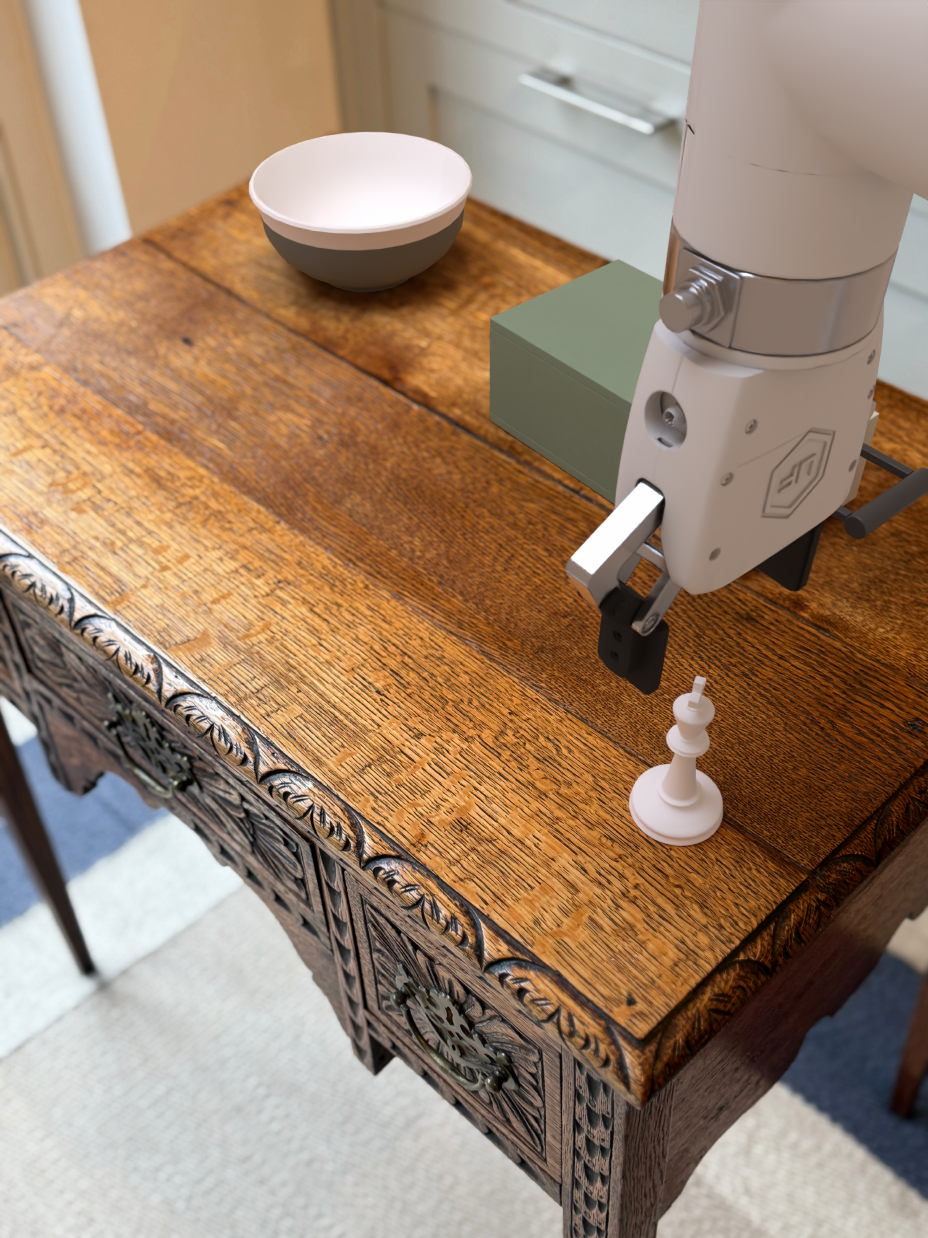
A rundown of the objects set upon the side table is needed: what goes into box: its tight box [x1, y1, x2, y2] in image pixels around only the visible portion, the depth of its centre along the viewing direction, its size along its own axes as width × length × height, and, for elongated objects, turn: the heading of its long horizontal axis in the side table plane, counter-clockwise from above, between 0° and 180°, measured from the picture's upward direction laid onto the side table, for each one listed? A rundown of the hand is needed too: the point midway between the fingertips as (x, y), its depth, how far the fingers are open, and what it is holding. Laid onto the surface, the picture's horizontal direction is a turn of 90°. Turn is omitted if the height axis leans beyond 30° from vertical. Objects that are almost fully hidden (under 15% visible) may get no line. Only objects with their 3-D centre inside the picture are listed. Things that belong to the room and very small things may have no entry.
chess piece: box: [628, 675, 724, 847], centre depth 59 cm, size 5×5×10 cm
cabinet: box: [489, 259, 663, 506], centre depth 83 cm, size 15×13×9 cm
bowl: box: [248, 131, 474, 293], centre depth 101 cm, size 19×19×8 cm
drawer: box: [830, 410, 928, 540], centre depth 76 cm, size 19×11×7 cm, turn 40°
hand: (703, 622), depth 53 cm, fingers open, 9 cm apart
